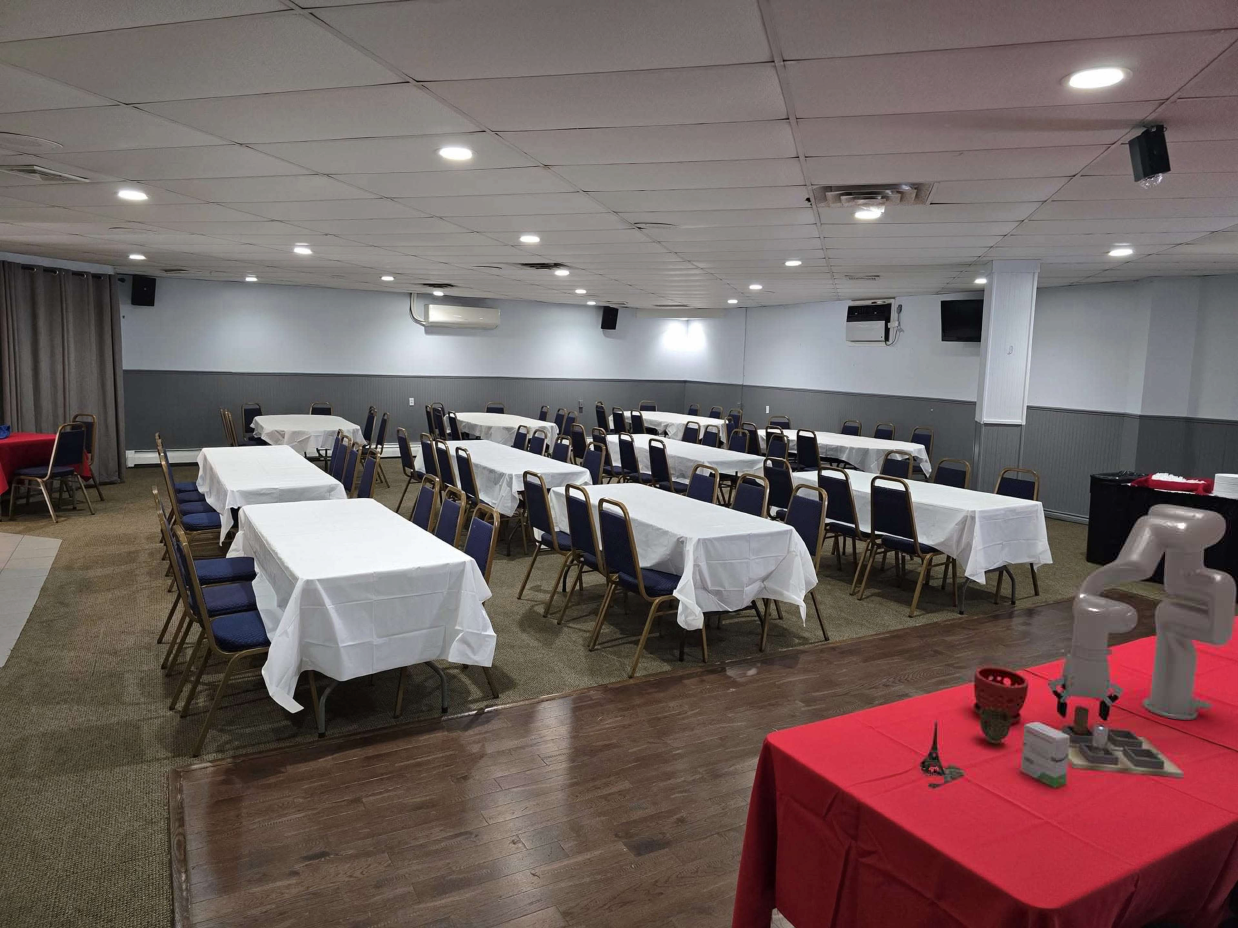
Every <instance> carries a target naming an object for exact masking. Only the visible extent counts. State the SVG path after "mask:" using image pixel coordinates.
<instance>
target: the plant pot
mask: <svg viewBox="0 0 1238 928" xmlns="http://www.w3.org/2000/svg"><path fill="white" fill-rule="evenodd" d="M990 676H991V677H992V679H990ZM998 678H1000V679H998ZM1005 679H1008V680H1009V681H1010V684H1009V685H1007V684H1006V683H1005V682H1004V680H1005ZM973 688H974V698H975V700H976V702H975V703H974V704H973V709H974V712H975V713H976V714H977V716H979V717H980V710H981V708H983V709H984V710H985V707H987V710H988V709H989V708H990V707H992V709H993V708H994V707H995V708H996V709H997V711H999V709H1001V710H1002V711H1005V710H1007V712H1008V713H1010V717H1012V721H1011V724H1015V723H1017V722H1018V721H1019V720H1021V715H1022V714H1021V710H1022V709H1023V707H1024V704H1025V701H1026V700H1027V695H1028V690H1029V681H1028V679H1027V678H1026V677H1025V676H1024V675H1022V674H1020V673H1017V672H1015V671H1012V670H1010V669H1007V668H1002V667H997V666H995V667H994V666H982V667H979V668H978V669H976V670H975V672H974V685H973Z"/></svg>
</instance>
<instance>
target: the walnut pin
mask: <svg viewBox="0 0 1238 928" xmlns="http://www.w3.org/2000/svg"><path fill="white" fill-rule="evenodd" d="M1089 713H1090V709H1089V708H1087V707H1085V706H1082V705H1077V706H1075V707H1074V715H1073V725H1072V726H1073V734H1074V735H1081V736H1087V727H1088V725H1089V723H1088V722H1089Z"/></svg>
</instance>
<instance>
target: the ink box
mask: <svg viewBox="0 0 1238 928" xmlns="http://www.w3.org/2000/svg"><path fill="white" fill-rule="evenodd" d="M1057 730H1058V729H1056V728H1052V727H1051V726H1048V725H1045V724H1043V723H1042V722H1039V721H1035V722H1029V723H1026V724H1024V725H1023V737H1022V738H1023V740H1022V752H1021V753H1022V754H1021V764H1020V765H1021V767H1020V771H1021V772H1022V773H1024V774H1026V775H1027V776H1030V777H1032V778H1034V779H1036V780H1038V781H1039V782H1041V783H1044V784H1046V785H1048V786H1049V787H1051V788H1054V789H1056V788H1058V787H1061V786H1064V785H1066V784H1067V775H1068V764H1069V762H1068V752H1069V739H1070V736H1068V735H1066V734H1064V733H1062V732H1059V731H1057Z"/></svg>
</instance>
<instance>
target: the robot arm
mask: <svg viewBox="0 0 1238 928" xmlns="http://www.w3.org/2000/svg"><path fill="white" fill-rule="evenodd" d="M1226 529H1227V525H1226V519H1225V518H1224V517H1223V515H1221V513H1218V512H1215V511H1211V510H1207V509H1199V508H1193V507H1188V506H1181V505H1173V504H1166V503H1164V504H1163V503H1160V504H1156V505H1155V504H1154V505H1153V506H1151V507H1149V510H1148V512H1147V515H1143V516H1141V517H1140V518H1138V519H1137V521H1136V522H1135V523H1134V525H1133V527H1132V529H1131V531H1130V533H1129V535H1128V537H1127V538H1126V540H1125V543H1124V545H1123V546H1122V548H1121V550H1120V552H1119V554H1118V556H1117V557H1116V559H1115V560H1114V561H1112V562H1111V563H1110V562H1109V563H1108V564H1105V565H1104V566H1102V567H1100V568H1098V569H1097V570H1095V571H1093V573H1091V574H1090V575H1089V576H1087V578H1086V579H1084V581H1083V582H1082V584H1081V586H1080V588H1079V589H1078V591H1077V593H1076V595H1075V598H1074V600H1073V603H1072V613H1073V616H1074V621H1073V630H1072V640H1071V641H1072V642H1071V650H1070V652H1071V653H1067V655H1066V657H1065V660H1064V663H1063V666H1062V670H1061V677H1058V678H1055V679H1053V680H1050V681H1048V682H1047V685H1048V688H1049V689H1050V692H1051V693H1052V695H1054V696H1055V698H1056V699H1057V703H1056V704H1057V705H1056V712H1057V713H1058V714H1059V715H1060V716H1061V717H1062V719H1065V718H1067V712H1068V711H1067V710H1068V703H1067V701H1068V699H1070V698H1071V697H1078V698H1090V699H1101V701H1100V702H1099V707H1098V718H1101V720H1103V722H1107V721H1108V718H1109V716H1110V710H1111V707H1112V706H1113V704H1114V703H1115V702H1116V701H1118V700H1119V699H1120V698H1119V697H1121V695H1122V694H1123V692H1124V689H1123V688H1122V687H1121V686H1119V685H1117V684H1115V683H1114V682H1112V681H1111V672H1110V662H1109V660H1108V656H1111V655H1113V650H1112V649H1109V648H1108V641H1109V634H1110V633H1114V634H1116V633H1119V634H1122V633H1127V632H1129V631H1131V630H1133V629H1134V628H1135V627H1136V626H1137V624H1138V621H1139V615H1138V612H1137V610H1136V609H1135V608H1134V607H1133V606H1131V605H1130V604H1127V603H1124V602H1121V601H1117V600H1113V599H1110V598H1106V597H1102V596H1100V594H1101V593H1102V592H1103V591H1105V590H1106V589H1107V588H1109V587H1111V586H1114V585H1117V584H1122V583H1129V582H1136V581H1141V580H1146V579H1150V577H1152V576H1153V575H1154V572H1155V570H1156V569H1157V568H1158V565H1159V562H1160V561H1161V559H1162V557H1163V555H1164V553H1165V556H1164V557H1165V559H1164V570H1163V571H1164V573H1163V574H1164V576H1163V585H1164V589H1165V592H1166V593H1168V594H1169V595H1171V596H1173V597H1176V598H1180V599H1184V600H1188V601H1192V602H1196V603H1200V604H1204V605H1206V606H1203V605H1199V604H1196V603H1191V602H1187V601H1183V600H1179V599H1178V600H1177V599H1166V600H1163V601H1161V602H1160V603H1158V604H1157V606H1156V609H1155V610H1154V611H1155V612H1154V620H1155V621H1154V622H1155V630H1156V631H1155V632H1156V635H1155V636H1156V641H1155V652H1154V660H1153V667H1152V669H1153V670H1152V678H1151V688H1150V696H1149V697H1146V698H1144V699H1143V700H1142V706H1143V707H1144V708H1145V709H1146V710H1148V711H1149V712H1151V713H1154V714H1156V715H1159V716H1162V717H1164V718H1169V719H1174V720H1182V721H1183V720H1184V721H1192V720H1196V719H1197V718H1198V711H1197V710H1199V709H1204V710H1211V709H1212V704H1211V701H1210V702H1209V701H1201V699H1200V698H1194V697H1193V694H1194V687H1195V686H1194V685H1195V677H1196V672H1197V671H1196V669H1197V661H1198V652H1197V648H1196V646H1195V644H1194V642H1193V641H1195V642H1200V643H1202V644H1207V645H1211V646H1217V647H1218V646H1219V647H1223V646H1225V645H1226V644H1228V643H1229V642H1230V640H1231V639H1232V635H1233V631H1234V625H1235V624H1234V623H1235V611H1236V599H1237V586H1236V581H1235V579H1234V578H1233V577H1232V576H1231V575H1230V574H1228V573H1227V572H1225V571H1222V570H1217V569H1213V568H1207V567H1206V566H1205V564H1204V559H1205V558H1204V554H1205V549H1207V548H1209V547H1211V546H1214V545H1215V544H1217V543H1218V542H1219V541H1220V540H1221V539H1222V538H1223V537H1224V535H1225V532H1226ZM1059 686H1060V688H1061V690H1059V691H1058V689H1057V688H1058V687H1059ZM1110 690H1113V692H1112V693H1110Z"/></svg>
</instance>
